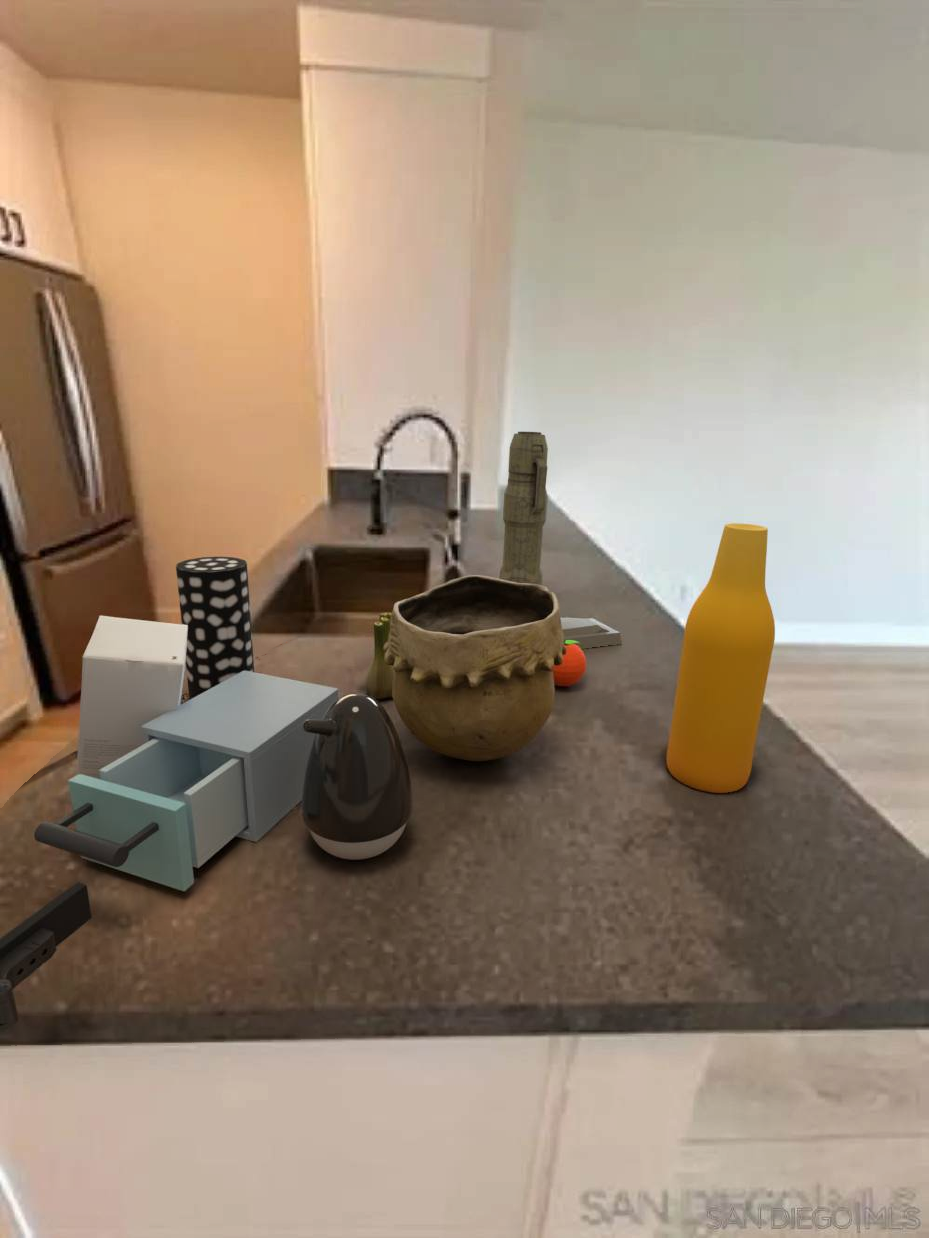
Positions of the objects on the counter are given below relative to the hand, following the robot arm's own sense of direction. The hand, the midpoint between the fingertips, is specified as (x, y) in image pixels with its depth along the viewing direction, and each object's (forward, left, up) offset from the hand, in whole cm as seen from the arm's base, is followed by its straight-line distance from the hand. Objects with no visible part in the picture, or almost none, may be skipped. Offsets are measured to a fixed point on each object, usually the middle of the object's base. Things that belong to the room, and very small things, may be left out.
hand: (11, 873), depth 47 cm
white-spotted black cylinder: (-15, +40, -8) cm, 43 cm away
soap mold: (+20, +87, -8) cm, 89 cm away
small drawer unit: (0, +26, -8) cm, 27 cm away
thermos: (+7, +107, -8) cm, 107 cm away
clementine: (+25, +68, -8) cm, 73 cm away
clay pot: (+19, +43, -8) cm, 48 cm away
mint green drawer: (0, +14, -7) cm, 16 cm away
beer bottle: (+46, +49, -8) cm, 68 cm away
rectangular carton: (-14, +23, -6) cm, 27 cm away
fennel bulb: (+2, +53, -8) cm, 53 cm away
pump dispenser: (+15, +22, -8) cm, 28 cm away
